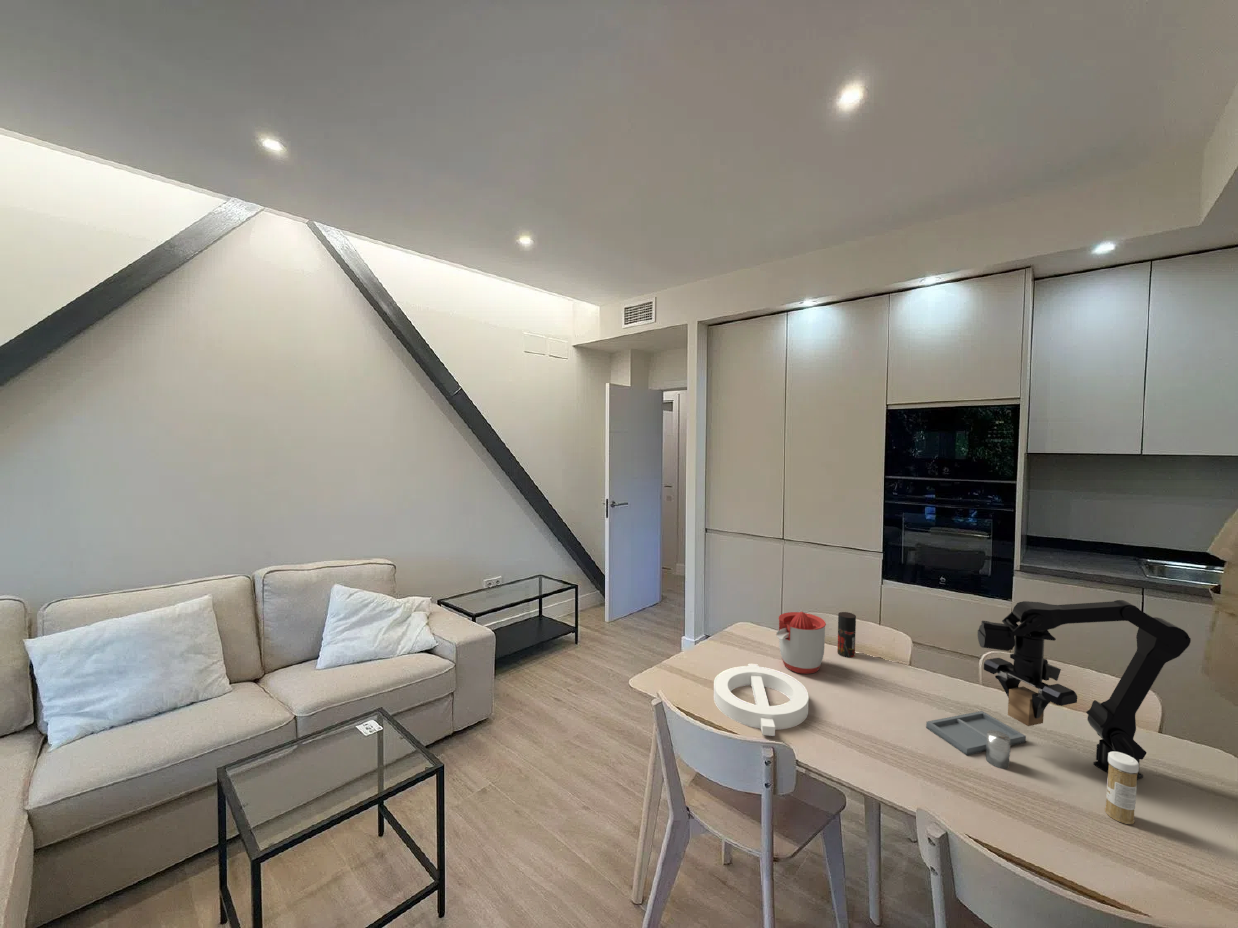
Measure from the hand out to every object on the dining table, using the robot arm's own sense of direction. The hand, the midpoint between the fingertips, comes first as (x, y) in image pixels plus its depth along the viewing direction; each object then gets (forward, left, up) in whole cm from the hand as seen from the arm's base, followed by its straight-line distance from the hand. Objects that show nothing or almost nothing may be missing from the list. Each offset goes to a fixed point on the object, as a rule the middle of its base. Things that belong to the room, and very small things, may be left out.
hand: (1025, 711), depth 124 cm
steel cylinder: (-1, +10, -11) cm, 15 cm away
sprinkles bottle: (-21, +2, -11) cm, 24 cm away
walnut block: (0, 0, -2) cm, 2 cm away
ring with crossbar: (+39, +53, -12) cm, 67 cm away
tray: (+9, +5, -11) cm, 15 cm away
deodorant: (+59, +5, -11) cm, 60 cm away
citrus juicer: (+55, +28, -11) cm, 63 cm away
